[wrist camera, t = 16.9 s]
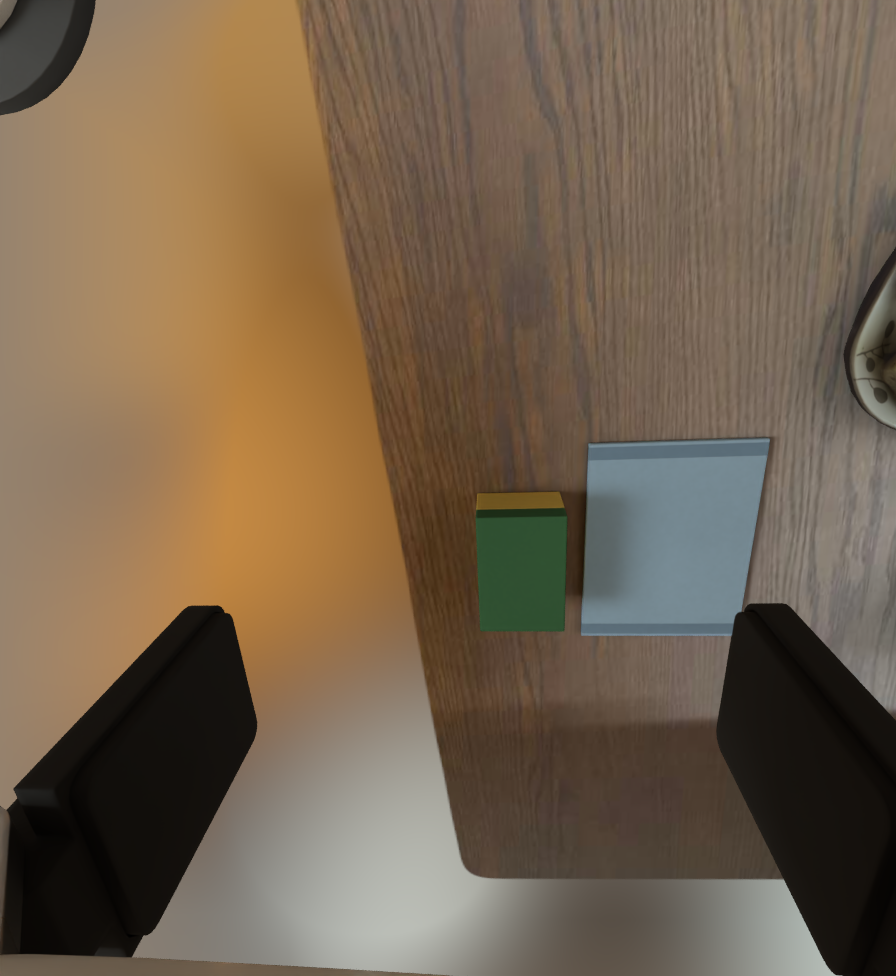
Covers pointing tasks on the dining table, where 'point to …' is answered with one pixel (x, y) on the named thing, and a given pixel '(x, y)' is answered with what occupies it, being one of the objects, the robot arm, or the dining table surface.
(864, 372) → the salad plate
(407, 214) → the dining table surface
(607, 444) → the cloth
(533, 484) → the dining table surface
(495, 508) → the scrubber
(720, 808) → the dining table surface
